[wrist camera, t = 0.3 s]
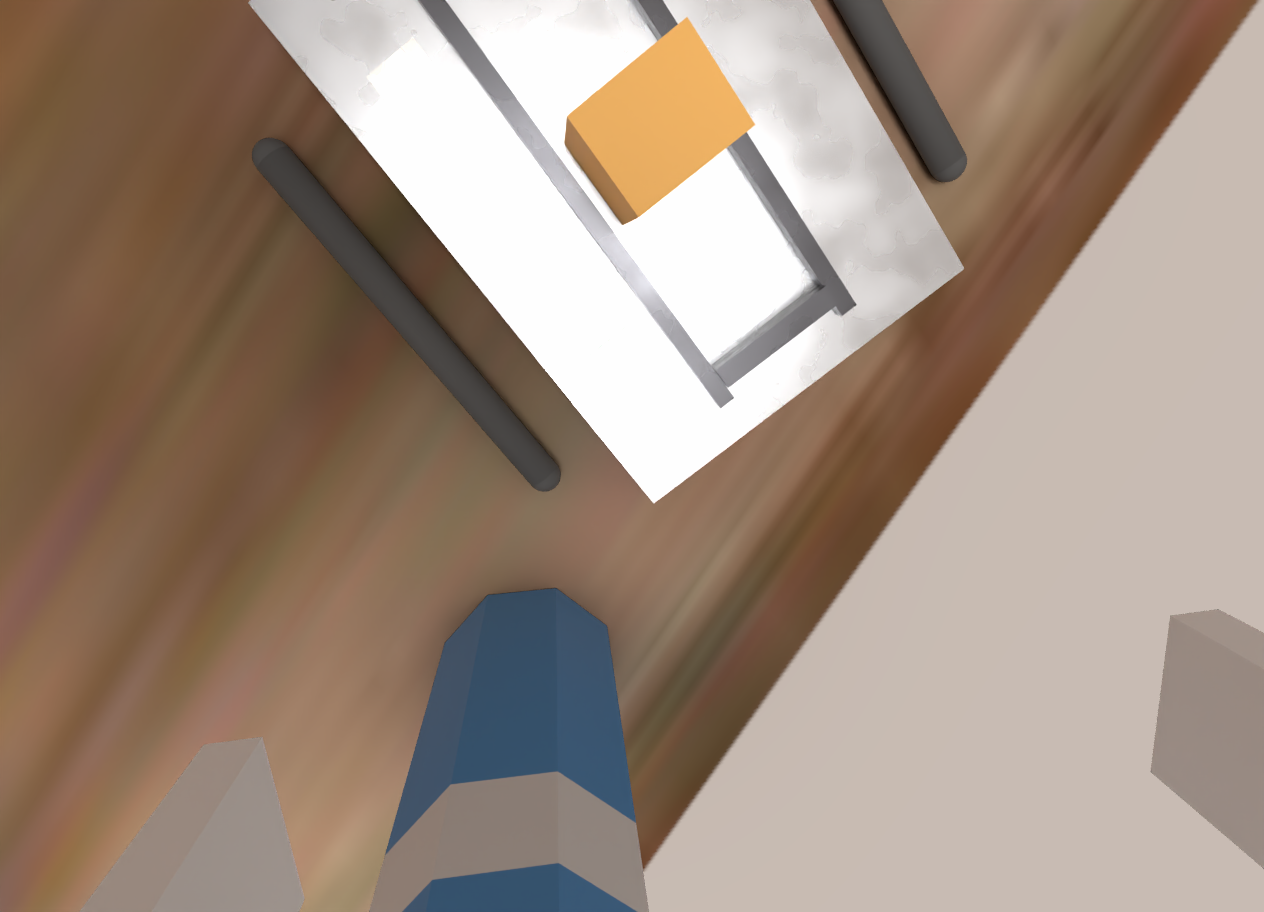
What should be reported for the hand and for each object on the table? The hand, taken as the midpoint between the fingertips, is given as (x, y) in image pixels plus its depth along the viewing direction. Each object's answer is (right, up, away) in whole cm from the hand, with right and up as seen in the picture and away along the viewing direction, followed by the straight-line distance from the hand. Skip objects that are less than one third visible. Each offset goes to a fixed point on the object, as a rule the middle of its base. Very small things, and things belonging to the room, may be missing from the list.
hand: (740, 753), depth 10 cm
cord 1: (+8, +25, +21) cm, 34 cm away
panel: (-1, +18, +22) cm, 28 cm away
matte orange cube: (-1, +17, +19) cm, 26 cm away
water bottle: (-7, -7, +28) cm, 30 cm away
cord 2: (-11, +10, +23) cm, 28 cm away
